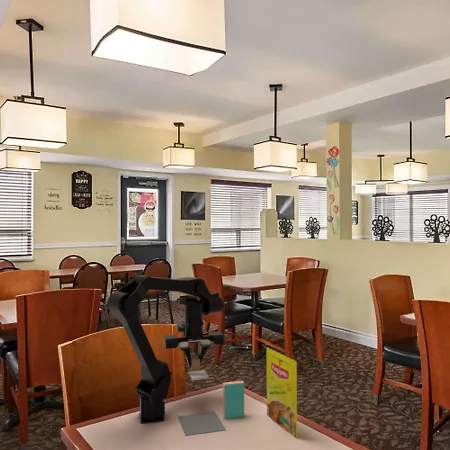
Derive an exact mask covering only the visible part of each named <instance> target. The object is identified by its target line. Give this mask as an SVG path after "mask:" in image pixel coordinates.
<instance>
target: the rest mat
mask: <svg viewBox="0 0 450 450" xmlns="http://www.w3.org/2000/svg"><path fill="white" fill-rule="evenodd" d="M178 421H179V422H180V426H181V427H182V430H183V433H184V436H186V437H189V436H195V435H202V434H210V433H217V432H223V431H224V432H225V431H226V430H227V429H226V428H225V426H224V425H223V423H222V421H221V419H220V418H219V417H218V414H217V413H216V411H209V412H201V413H200V412H198V413H192V414H185V415H178Z"/></svg>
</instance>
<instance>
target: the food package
mask: <svg viewBox="0 0 450 450" xmlns="http://www.w3.org/2000/svg"><path fill="white" fill-rule="evenodd" d="M265 352H266V416H268V417H269V418H270V419H271V420H272V421H274V423H276V424H277V425H279V426H280V427H281V428H282V429H284V431H286V432H287V433H289V434H290V435H292V436H293V437H294V438H295V439H298V398H297V396H298V393H297V392H298V387H297V385H298V382H297V380H298V377H297V376H298V375H297V374H298V373H297V371H298V368H297V360H294V359H291V358H290V357H288V356H286V355H284V354H281V353H279V352H277V351H276V350H274V349H272V348H269V347H268V346H267V347H266V351H265Z"/></svg>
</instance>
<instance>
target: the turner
mask: <svg viewBox="0 0 450 450" xmlns="http://www.w3.org/2000/svg"><path fill="white" fill-rule="evenodd" d="M190 354H191V368H190V367H189V365H188V364H187V368H188V369H189V371H187V372H188V373H187V375H188V376H189V378H190V379H191V380H192V381H196V380H204V379H209V378H210V377H209V374H208V373H207V372H206V370H205V369H202V370H201V365H200V359H199V358H198V354H196V352H190Z"/></svg>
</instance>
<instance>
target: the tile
mask: <svg viewBox="0 0 450 450" xmlns="http://www.w3.org/2000/svg"><path fill="white" fill-rule="evenodd" d="M244 417H245V382H244V381H243V380H236V381H228V382H222V418H223V420H230V419H236V418H237V419H238V418H244Z"/></svg>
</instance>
